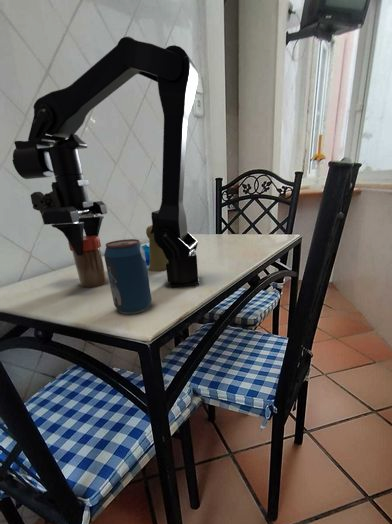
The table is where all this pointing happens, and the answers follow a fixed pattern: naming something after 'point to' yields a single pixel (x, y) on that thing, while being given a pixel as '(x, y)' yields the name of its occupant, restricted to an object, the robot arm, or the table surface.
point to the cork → (155, 253)
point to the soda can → (128, 275)
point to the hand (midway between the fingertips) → (86, 252)
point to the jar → (90, 268)
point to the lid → (89, 243)
